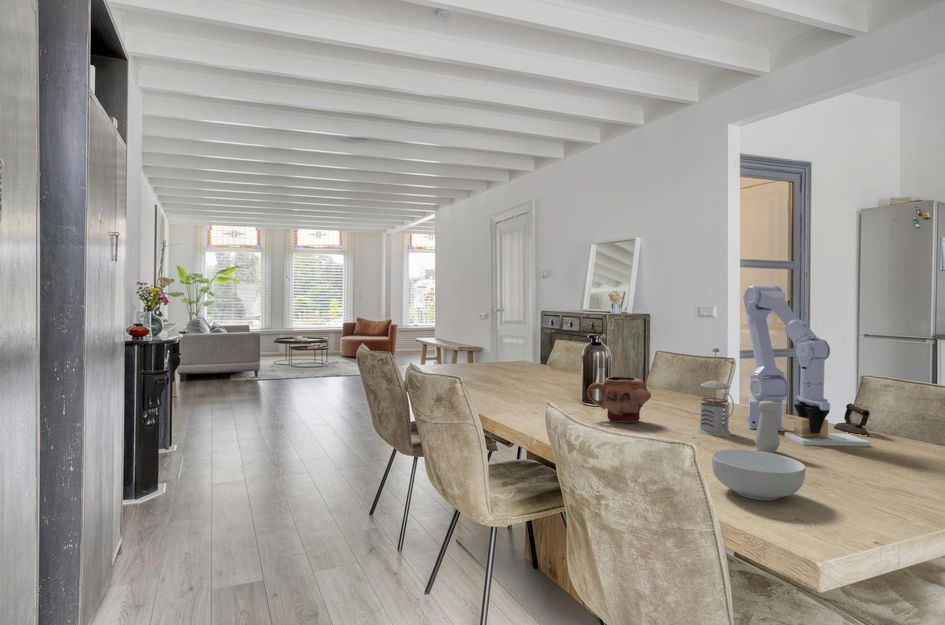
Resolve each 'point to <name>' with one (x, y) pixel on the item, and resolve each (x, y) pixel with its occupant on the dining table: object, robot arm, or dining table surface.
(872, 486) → the dining table surface
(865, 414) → the clothes iron
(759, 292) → the robot arm
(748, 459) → the cereal bowl
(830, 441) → the board
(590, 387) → the brown clay mug
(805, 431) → the block
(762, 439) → the salt shaker
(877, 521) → the dining table surface
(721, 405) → the french press
